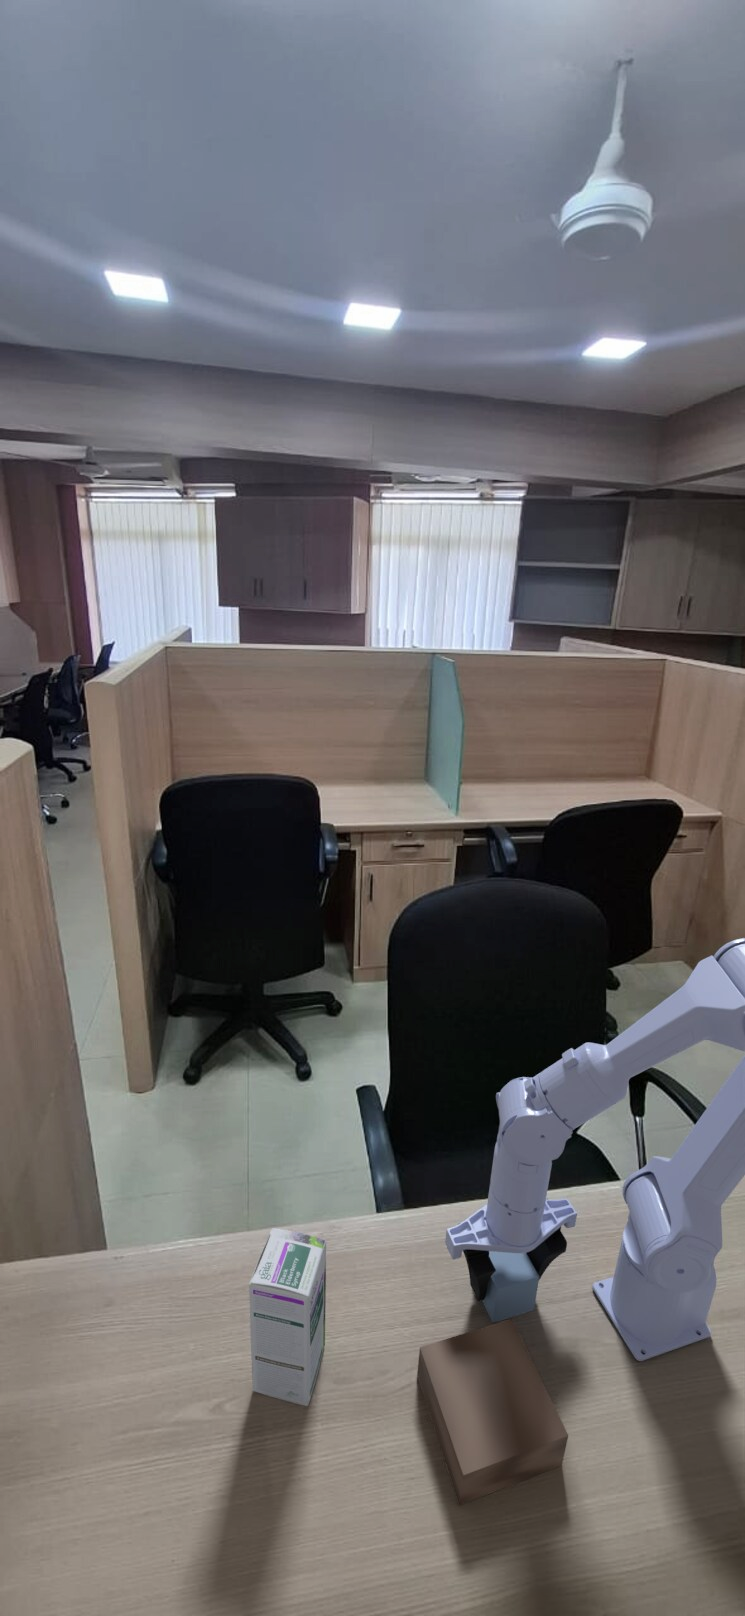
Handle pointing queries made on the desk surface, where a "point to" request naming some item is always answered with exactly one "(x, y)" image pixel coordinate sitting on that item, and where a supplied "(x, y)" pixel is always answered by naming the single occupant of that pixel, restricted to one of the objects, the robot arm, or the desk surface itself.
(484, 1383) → the walnut block
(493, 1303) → the blue cube
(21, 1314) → the desk surface
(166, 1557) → the desk surface
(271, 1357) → the syrup box
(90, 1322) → the desk surface
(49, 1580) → the desk surface
